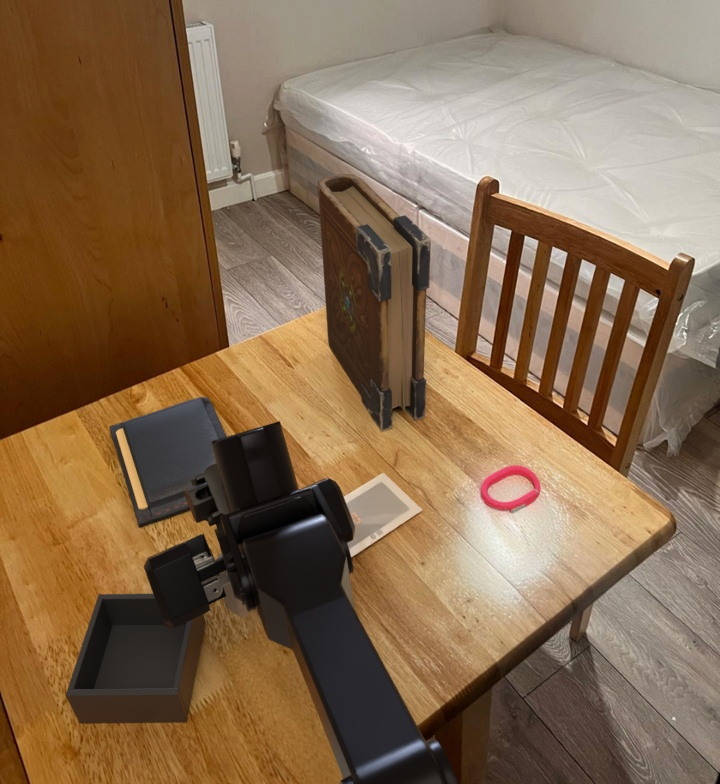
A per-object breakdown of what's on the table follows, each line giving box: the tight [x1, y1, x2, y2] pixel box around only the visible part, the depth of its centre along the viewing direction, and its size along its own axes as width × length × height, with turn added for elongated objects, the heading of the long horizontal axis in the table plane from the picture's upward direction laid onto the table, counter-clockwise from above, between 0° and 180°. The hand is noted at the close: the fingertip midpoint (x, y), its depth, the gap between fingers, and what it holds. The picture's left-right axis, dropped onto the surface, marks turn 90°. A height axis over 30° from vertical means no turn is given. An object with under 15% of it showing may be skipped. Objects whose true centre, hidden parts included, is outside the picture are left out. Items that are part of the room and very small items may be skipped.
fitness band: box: [480, 464, 541, 514], centre depth 94 cm, size 8×6×2 cm
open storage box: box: [65, 593, 206, 724], centre depth 75 cm, size 11×11×6 cm
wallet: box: [109, 396, 228, 529], centre depth 101 cm, size 20×2×15 cm
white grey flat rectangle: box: [343, 472, 423, 558], centre depth 90 cm, size 8×15×2 cm, turn 127°
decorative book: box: [317, 173, 432, 433], centre depth 106 cm, size 23×7×30 cm, turn 24°
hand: (237, 543), depth 74 cm, fingers closed on power adapter, 6 cm apart
